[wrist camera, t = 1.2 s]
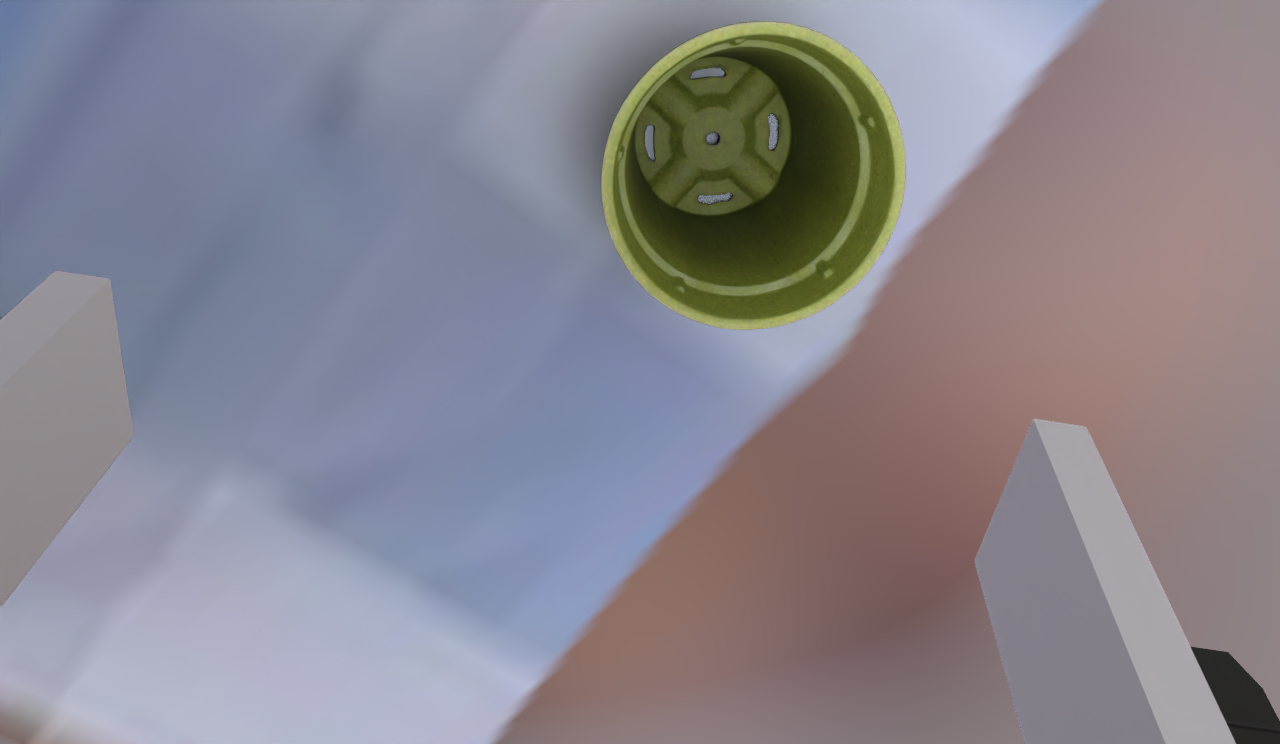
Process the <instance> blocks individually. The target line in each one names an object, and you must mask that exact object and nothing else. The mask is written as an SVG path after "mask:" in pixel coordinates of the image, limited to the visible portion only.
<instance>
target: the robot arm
mask: <svg viewBox="0 0 1280 744" xmlns="http://www.w3.org/2000/svg"><path fill="white" fill-rule="evenodd" d="M133 436H134V433H133V426H132V420H131V413H130V407H129V400H128V393H127V387H126V380H125V374H124V367H123V361H122V354H121V348H120V341H119V334H118V328H117V321H116V315H115V308H114V302H113V295H112V288H111V282H110V279H108V278H102V277H95V276H88V275H82V274H75V273H69V272H62V271H54V272H53V273H52V274H51V275H50V276H49V277H47V278H46V279H45V280H44V281H43V282H42V283H41V284H40V285H39V286H37V287H36V288H35V289H34V290H33V291H32V292H31V293H30V294H28V295H27V296H26V297H25V298H24V299H23V300H22V301H21V302H20V303H18V304H17V305H16V306H15V307H14V308H13V309H12V310H11V311H9V312H8V313H7V314H6V315H5V316H4V317H3V318H2V319H1V320H0V608H1V606H2V605H3V604H4V603H5V601H6V600H7V599H8V597H9V596H10V595H11V594H12V592H13V591H14V590H15V588H16V587H17V586H18V585H19V583H20V582H21V581H22V579H23V578H24V577H25V575H26V574H27V573H28V572H29V570H30V569H31V568H32V566H33V565H34V564H35V563H36V561H37V560H38V559H39V557H40V556H41V555H42V554H43V552H44V551H45V550H46V548H47V547H48V546H49V545H50V543H51V542H52V541H53V539H54V538H55V537H56V535H57V534H58V533H59V532H60V530H61V529H62V528H63V526H64V525H65V524H66V523H67V521H68V520H69V519H70V517H71V516H72V515H73V514H74V512H75V511H76V510H77V508H78V507H79V506H80V504H81V503H82V502H83V501H84V499H85V498H86V497H87V495H88V494H89V493H90V492H91V490H92V489H93V488H94V486H95V485H96V484H97V483H98V481H99V480H100V479H101V477H102V476H103V475H104V474H105V472H106V471H107V470H108V468H109V467H110V466H111V464H112V463H113V462H114V461H115V459H116V458H117V457H118V455H119V454H120V453H121V452H122V450H123V449H124V448H125V446H126V445H127V444H128V443H129V441H130V440H131V439H132V437H133ZM974 562H975V565H976V569H977V573H978V576H979V580H980V583H981V587H982V591H983V594H984V598H985V602H986V605H987V609H988V612H989V616H990V620H991V623H992V627H993V630H994V634H995V638H996V641H997V645H998V649H999V652H1000V656H1001V659H1002V663H1003V667H1004V670H1005V674H1006V678H1007V681H1008V684H1009V689H1010V692H1011V696H1012V699H1013V703H1014V707H1015V710H1016V714H1017V717H1018V721H1019V725H1020V728H1021V732H1022V735H1023V739H1024V743H1025V744H1280V721H1279V719H1278V717H1277V715H1276V713H1275V711H1274V709H1273V708H1272V706H1271V704H1270V702H1269V700H1268V698H1267V696H1266V694H1265V692H1264V690H1263V689H1262V688H1261V686H1260V685H1259V684H1258V683H1257V682H1256V681H1255V680H1254V679H1253V678H1252V677H1251V676H1250V675H1249V674H1248V673H1247V672H1246V671H1245V670H1244V669H1243V668H1242V666H1240V664H1239V663H1238V662H1237V661H1236V660H1235V659H1234V658H1233V657H1232V656H1231V655H1230V654H1229V653H1228V652H1223V651H1216V650H1209V649H1202V648H1195V647H1190V645H1189V643H1188V641H1187V639H1186V637H1185V635H1184V632H1183V631H1182V628H1181V626H1180V624H1179V622H1178V620H1177V618H1176V615H1175V613H1174V611H1173V609H1172V607H1171V606H1170V603H1169V601H1168V599H1167V596H1166V594H1165V592H1164V590H1163V588H1162V586H1161V584H1160V582H1159V580H1158V577H1157V575H1156V573H1155V571H1154V569H1153V567H1152V565H1151V563H1150V560H1149V558H1148V556H1147V554H1146V552H1145V550H1144V548H1143V546H1142V544H1141V541H1140V539H1139V537H1138V535H1137V533H1136V531H1135V529H1134V527H1133V525H1132V522H1131V520H1130V518H1129V516H1128V514H1127V512H1126V510H1125V508H1124V505H1123V504H1122V501H1121V499H1120V497H1119V495H1118V493H1117V491H1116V489H1115V487H1114V484H1113V482H1112V480H1111V478H1110V476H1109V474H1108V472H1107V470H1106V467H1105V465H1104V463H1103V461H1102V459H1101V457H1100V455H1099V453H1098V451H1097V448H1096V446H1095V444H1094V442H1093V440H1092V438H1091V436H1090V434H1089V431H1088V429H1087V428H1086V427H1085V426H1078V425H1071V424H1065V423H1058V422H1052V421H1045V420H1038V419H1033V421H1032V423H1031V425H1030V428H1029V430H1028V432H1027V435H1026V437H1025V440H1024V442H1023V445H1022V447H1021V450H1020V452H1019V454H1018V457H1017V459H1016V462H1015V464H1014V466H1013V469H1012V471H1011V473H1010V476H1009V478H1008V481H1007V483H1006V486H1005V488H1004V490H1003V493H1002V495H1001V498H1000V500H999V503H998V505H997V507H996V510H995V512H994V514H993V517H992V519H991V522H990V524H989V527H988V529H987V532H986V534H985V536H984V539H983V541H982V543H981V546H980V549H979V551H978V553H977V555H976V558H975V560H974Z"/></svg>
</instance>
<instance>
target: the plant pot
mask: <svg viewBox="0 0 1280 744" xmlns="http://www.w3.org/2000/svg"><path fill="white" fill-rule="evenodd" d="M713 67H716V68H719V67H720V68H722V69H723V70H725V71H726V76H724V77H705V78H699V79H694V80H691V78H690V76H691V75H692V73H693V71H697V70H700V69H708V68H713ZM770 114H774V115H775V116H776V118H777V119H778V122H779V140H778V143H777V146H776V148H775V149H774V150H773V151H772V150H770V149H769V148H768V145H769V136H770V135H769V134H770V129H769V123H768V116H769V115H770ZM648 125H653V126H654V127H655V131H654V150H655V154H654V155H655V157H656V160H655V161H652V159H650V158H649V156H648V153H647V151H646V147H645V130H646V128H647V126H648ZM711 132H715V133H717V134H719V136H720V141H719V142H718V144H716V145H709V144H708V143H707V142H706V136H707V135H708V134H709V133H711ZM905 178H906V163H905V149H904V142H903V137H902V132H901V128H900V125H899V121H898V119H897V116H896V113H895V111H894V109H893V106H892V104H891V102H890V99H889V97H888V96H887V94H886V92H885V90H884V89H883V87H882V86H881V84H880V83H879V81H878V80H877V78H876V77H875V76H874V74H873V73H872V72H871V71H870V70H869V69H868V68H867V66H866V65H865V64H864V63H863V62H862V61H861V60H860V59H859V58H858V57H857V56H856V55H854V54H853V53H852V52H851V51H850V50H848V49H847V48H846V47H844V46H843V45H841V44H840V43H838V42H836V41H835V40H833V39H831V38H830V37H828V36H826V35H824V34H821V33H819V32H816V31H814V30H811V29H808V28H805V27H802V26H798V25H793V24H788V23H783V22H770V21H753V22H743V23H737V24H732V25H727V26H723V27H719V28H716V29H713V30H710V31H707V32H705V33H703V34H700V35H698V36H696V37H694V38H692V39H690V40H688V41H686V42H684V43H683V44H681V45H679V46H678V47H676V48H675V49H673V50H672V51H670V52H669V53H668V54H666V55H665V56H664V57H662V58H661V59H660V60H659V61H658V62H656V63H655V64H654V65H653V66H652V67H651V68H650V69H649V70H648V71H647V72H646V73H645V74H644V75H643V76H642V78H641V79H640V80H639V81H638V82H637V83H636V85H635V86H634V87H633V89H632V90H631V91H630V93H629V94H628V96H627V97H626V99H625V101H624V102H623V104H622V106H621V107H620V109H619V111H618V113H617V115H616V117H615V120H614V122H613V124H612V127H611V130H610V133H609V136H608V139H607V143H606V147H605V151H604V157H603V164H602V175H601V192H602V203H603V210H604V215H605V220H606V224H607V227H608V231H609V233H610V236H611V239H612V241H613V243H614V245H615V248H616V250H617V252H618V254H619V255H620V257H621V259H622V261H623V262H624V264H625V265H626V267H627V269H628V270H629V272H630V273H631V274H632V276H633V277H634V278H635V279H636V280H637V281H638V283H639V284H640V285H641V286H642V287H643V288H644V289H645V290H646V291H647V292H648V293H649V294H650V295H652V296H653V297H654V298H655V299H656V300H658V301H659V302H661V303H662V304H663V305H665V306H666V307H668V308H669V309H671V310H673V311H674V312H676V313H678V314H680V315H682V316H685V317H687V318H689V319H692V320H694V321H697V322H700V323H703V324H706V325H710V326H714V327H719V328H724V329H734V330H752V329H764V328H772V327H776V326H781V325H785V324H788V323H792V322H795V321H797V320H800V319H803V318H806V317H808V316H811V315H813V314H815V313H817V312H819V311H821V310H823V309H824V308H826V307H828V306H830V305H831V304H833V303H834V302H835V301H837V300H838V299H839V298H840V297H842V296H843V295H844V294H846V293H847V292H848V291H849V290H850V289H852V288H853V287H854V286H855V285H856V284H857V283H858V282H859V281H860V280H861V279H862V278H863V277H864V276H865V275H866V274H867V273H868V272H869V270H870V269H871V268H872V266H873V265H874V263H875V262H876V261H877V259H878V258H879V256H880V255H881V253H882V252H883V250H884V249H885V247H886V245H887V243H888V241H889V239H890V237H891V235H892V233H893V230H894V228H895V225H896V223H897V220H898V217H899V214H900V210H901V206H902V202H903V197H904V191H905ZM728 192H730V193H731V194H733V196H732V197H731V199H730V200H729V201H724V202H717V203H715V204H711V205H710V204H703V203H699V201H698V199H697V198H698V197H699V195H718V194H726V193H728Z"/></svg>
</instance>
